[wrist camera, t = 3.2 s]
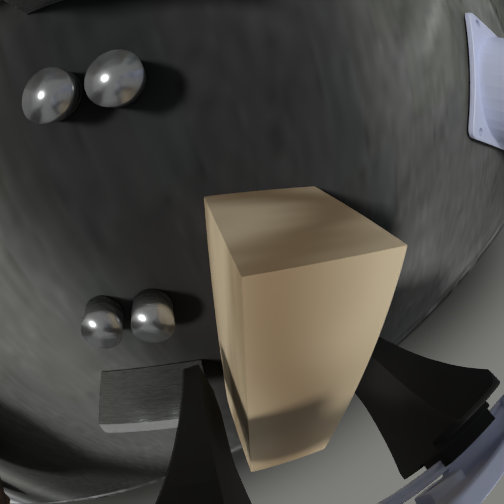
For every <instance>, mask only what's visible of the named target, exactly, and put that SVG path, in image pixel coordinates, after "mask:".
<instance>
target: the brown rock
mask: <svg viewBox="0 0 504 504" xmlns="http://www.w3.org/2000/svg"><path fill="white" fill-rule="evenodd" d="M4 495H5V504H10V498H9V497H8V496H7V495H6V494H5V493H4Z"/></svg>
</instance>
